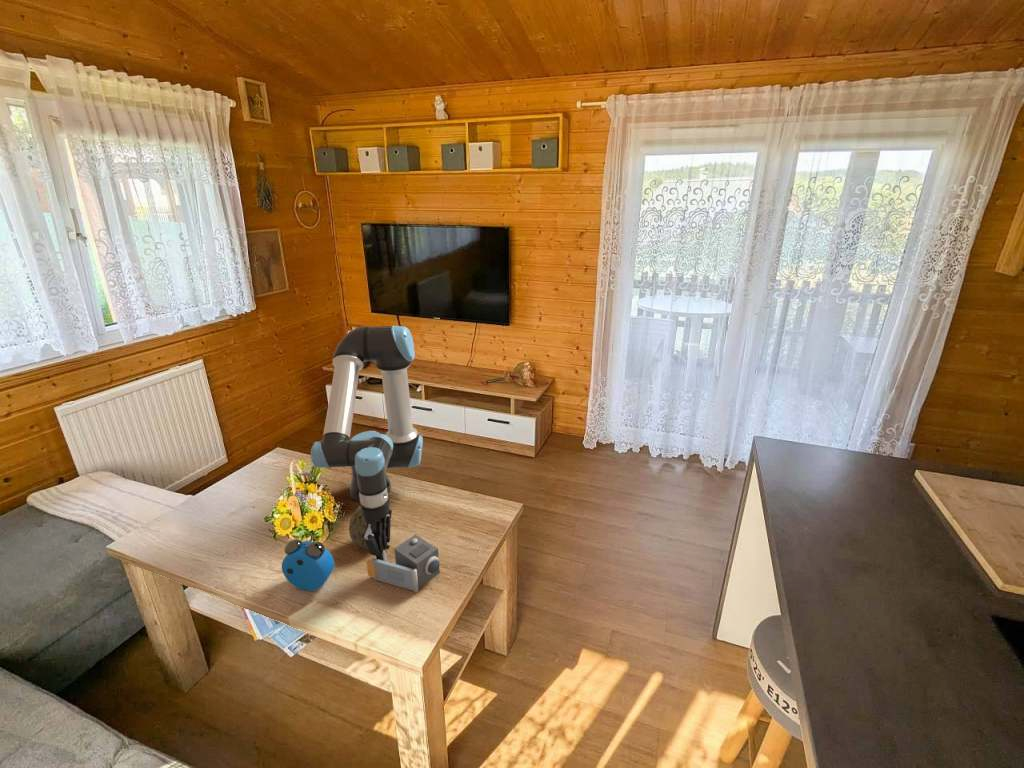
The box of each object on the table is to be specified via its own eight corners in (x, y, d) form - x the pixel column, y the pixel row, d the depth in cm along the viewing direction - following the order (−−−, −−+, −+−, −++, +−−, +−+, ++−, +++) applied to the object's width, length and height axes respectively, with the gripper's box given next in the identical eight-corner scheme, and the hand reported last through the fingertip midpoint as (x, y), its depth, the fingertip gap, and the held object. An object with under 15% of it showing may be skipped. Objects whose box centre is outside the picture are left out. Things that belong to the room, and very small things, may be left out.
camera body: (397, 572, 143) (393, 546, 139) (417, 558, 148) (415, 532, 145) (422, 591, 136) (420, 564, 132) (443, 574, 142) (441, 548, 138)
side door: (368, 578, 140) (365, 558, 137) (371, 575, 141) (368, 555, 139) (417, 593, 135) (415, 572, 132) (419, 589, 136) (417, 569, 134)
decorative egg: (368, 561, 147) (362, 521, 142) (344, 548, 153) (338, 509, 147) (393, 541, 156) (389, 502, 150) (370, 529, 161) (365, 492, 156)
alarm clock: (338, 579, 140) (330, 537, 135) (327, 595, 135) (318, 552, 129) (297, 573, 143) (288, 532, 137) (285, 589, 137) (275, 547, 131)
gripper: (374, 517, 126) (383, 585, 135) (397, 490, 138) (404, 555, 147) (349, 512, 128) (360, 580, 137) (374, 486, 140) (382, 550, 149)
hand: (383, 567), depth 142 cm, fingers closed
